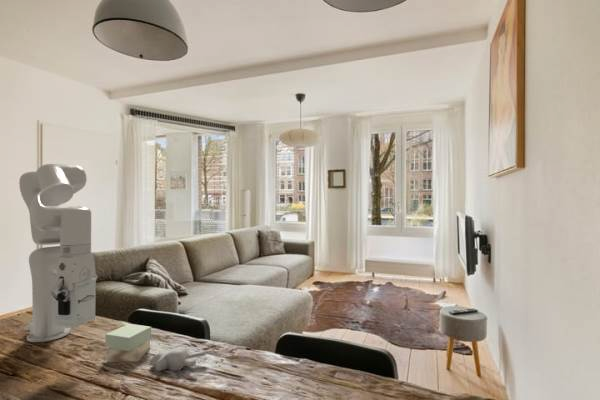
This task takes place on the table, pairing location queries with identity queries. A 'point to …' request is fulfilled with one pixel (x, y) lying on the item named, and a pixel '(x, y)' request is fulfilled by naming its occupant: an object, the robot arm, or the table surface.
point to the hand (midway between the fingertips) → (75, 309)
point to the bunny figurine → (174, 359)
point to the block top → (128, 337)
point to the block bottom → (127, 353)
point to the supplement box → (78, 305)
